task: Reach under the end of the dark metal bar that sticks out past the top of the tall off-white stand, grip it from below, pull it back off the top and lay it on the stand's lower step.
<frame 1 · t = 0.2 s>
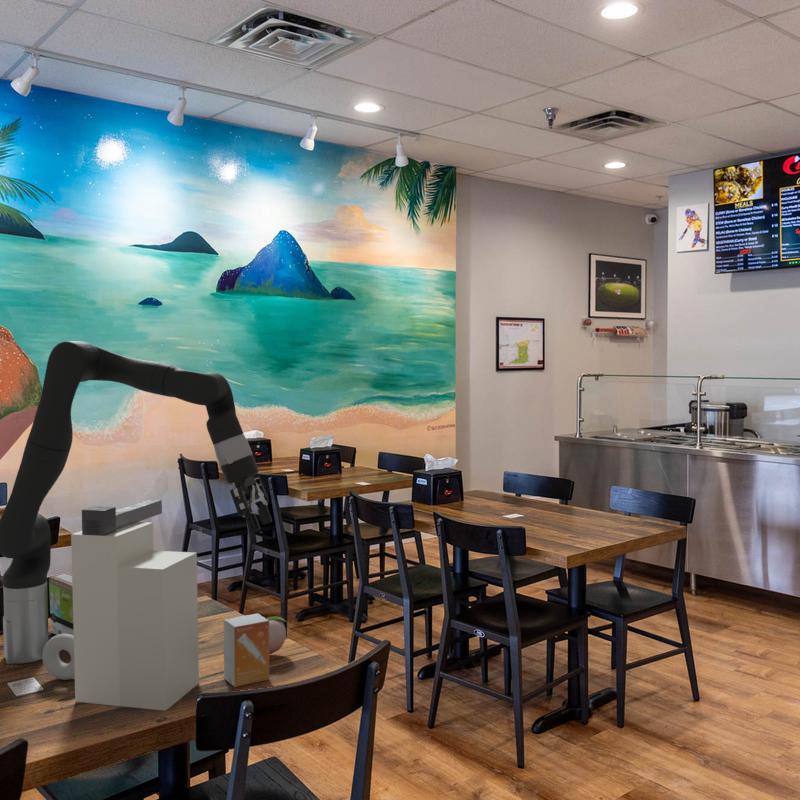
hand: (262, 527, 181), 32 cm above the table, tool tilted 20°, fingers open, 8 cm apart
small box: (246, 680, 177), on the table
decorative fruit: (267, 657, 190), on the table
donut: (65, 680, 177), on the table
metal bar: (126, 523, 174), point 34 cm above the table, touching two tier stand
two tier stand: (135, 677, 178), on the table
tea box: (83, 636, 205), on the table
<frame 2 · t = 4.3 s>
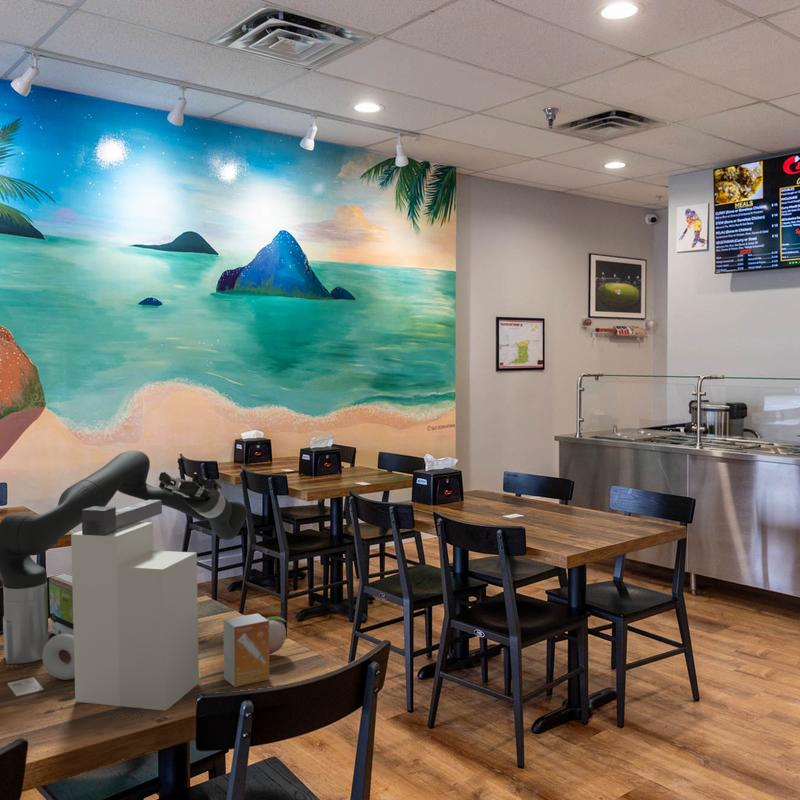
hand: (177, 476, 195), 41 cm above the table, tool pointing upward, fingers open, 8 cm apart
nothing on the table moved.
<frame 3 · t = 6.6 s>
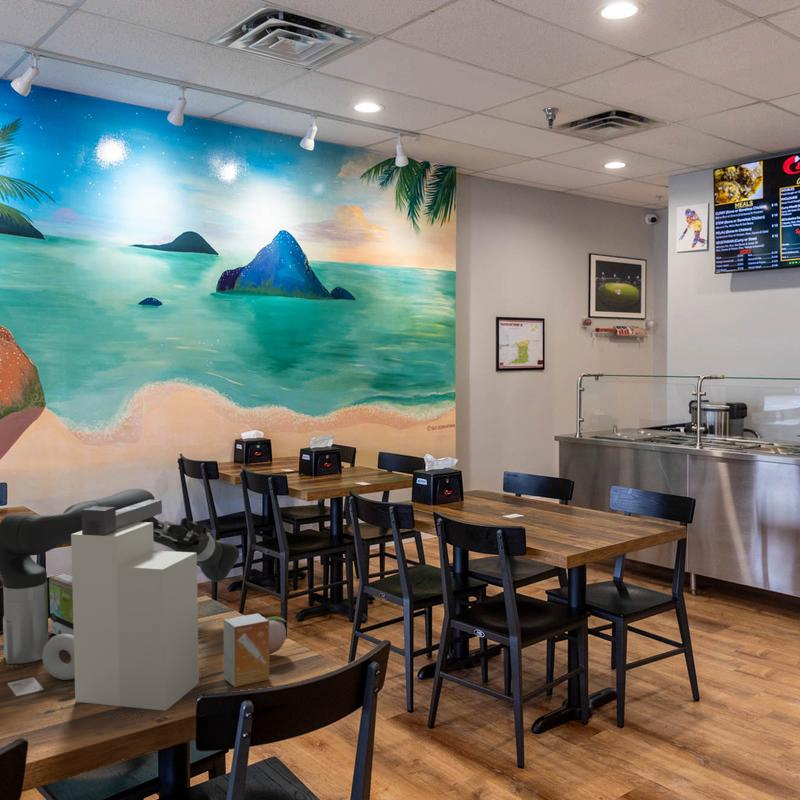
hand: (165, 520, 189), 32 cm above the table, tool pointing upward, fingers open, 8 cm apart
nothing on the table moved.
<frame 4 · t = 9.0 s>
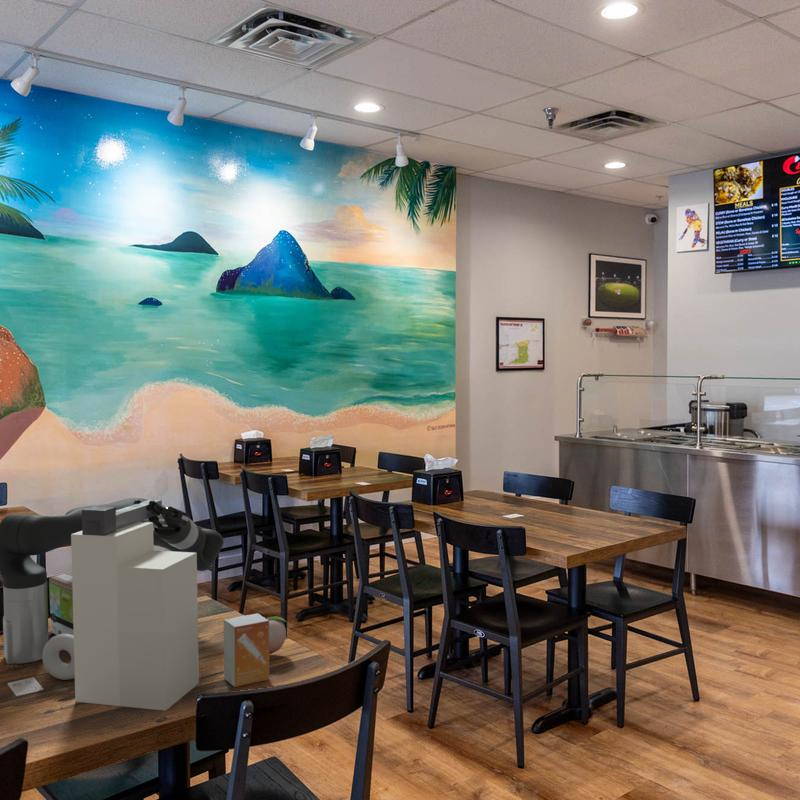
hand: (142, 504, 180), 37 cm above the table, tool pointing upward, fingers closed on metal bar, 3 cm apart
metal bar: (126, 523, 174), point 34 cm above the table, touching gripper, two tier stand
everything else where it was.
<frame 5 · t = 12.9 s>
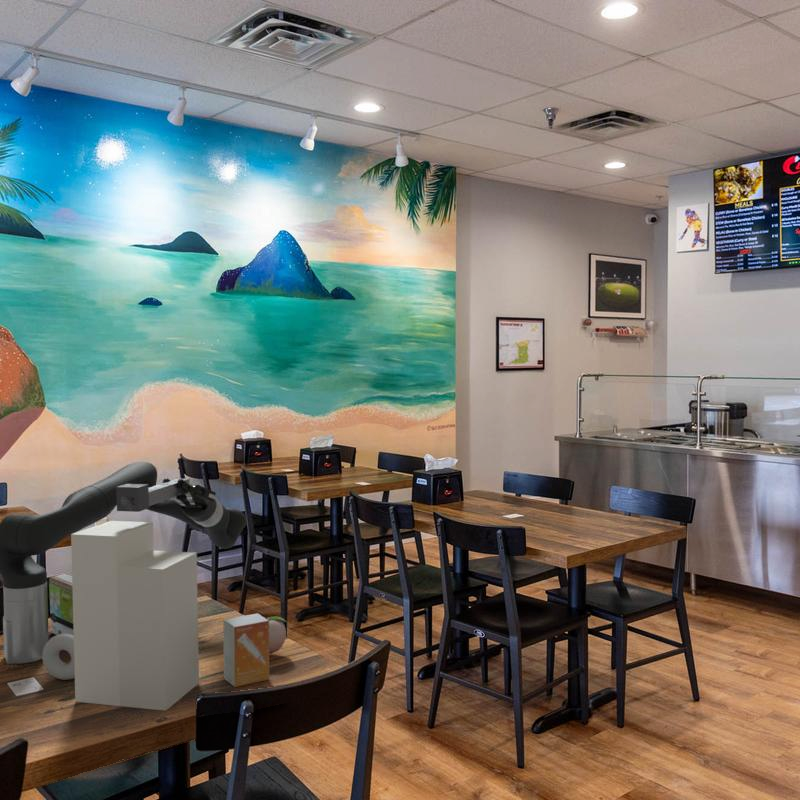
hand: (171, 482, 187), 41 cm above the table, tool pointing upward, fingers closed on metal bar, 3 cm apart
metal bar: (157, 500, 181), point 38 cm above the table, touching gripper
everything else where it was.
when the fingers open (32 cm above the table, at t = 16.7 s): metal bar drops 1 cm, resting on two tier stand.
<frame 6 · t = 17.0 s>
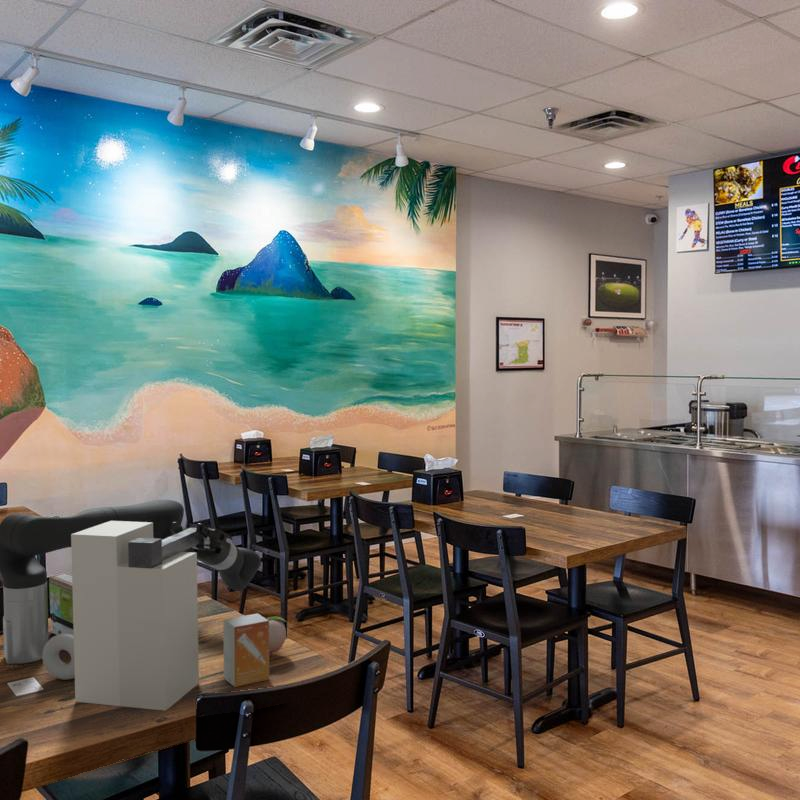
hand: (185, 527, 179), 32 cm above the table, tool pointing upward, fingers open, 5 cm apart
metal bar: (170, 553, 172), point 28 cm above the table, touching two tier stand
everything else where it was.
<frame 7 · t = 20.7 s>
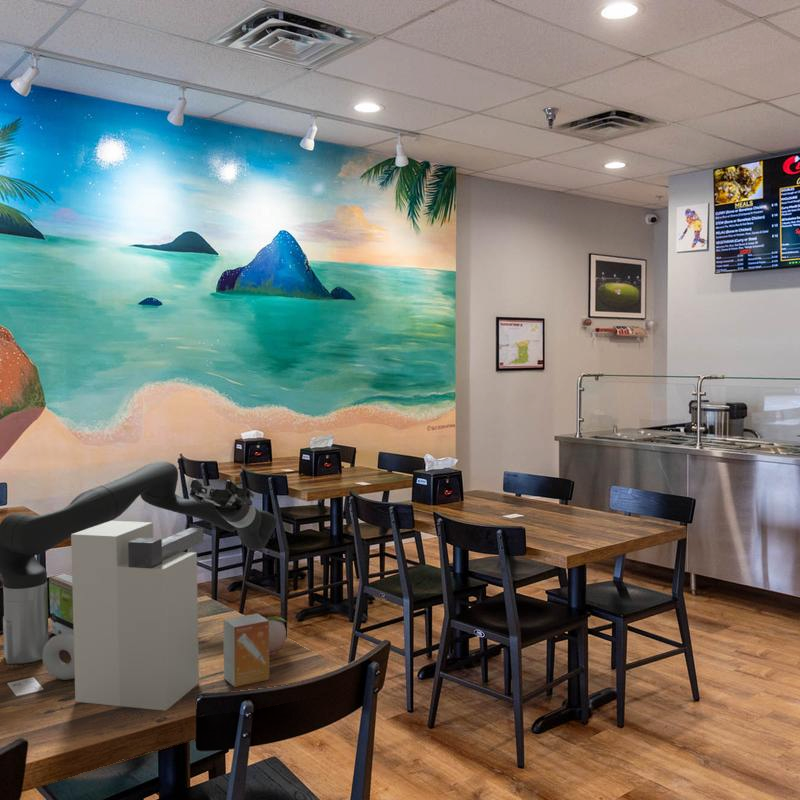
hand: (210, 483, 190), 40 cm above the table, tool pointing upward, fingers open, 8 cm apart
nothing on the table moved.
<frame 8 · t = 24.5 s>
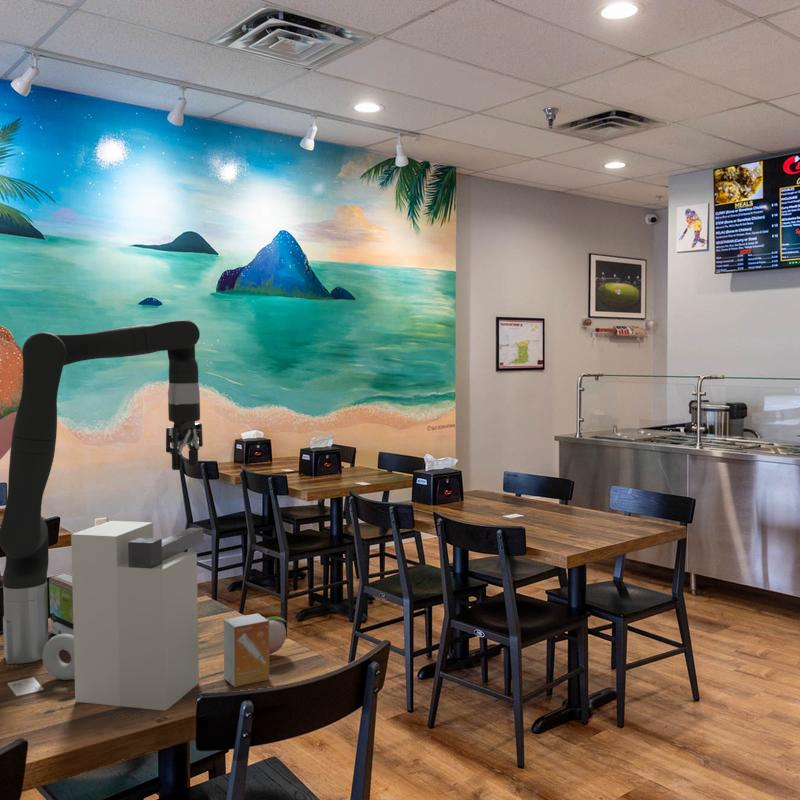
hand: (185, 467, 202), 42 cm above the table, tool pointing down, fingers open, 8 cm apart
nothing on the table moved.
at the end: metal bar 0.1 cm from the target spot on the two tier stand, point 28.0 cm above the two tier stand's base; metal bar tilted 0°; the gripper is holding nothing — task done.
